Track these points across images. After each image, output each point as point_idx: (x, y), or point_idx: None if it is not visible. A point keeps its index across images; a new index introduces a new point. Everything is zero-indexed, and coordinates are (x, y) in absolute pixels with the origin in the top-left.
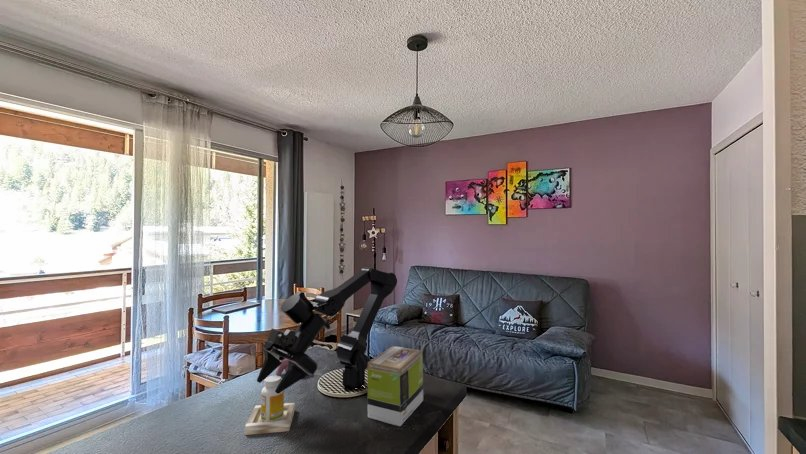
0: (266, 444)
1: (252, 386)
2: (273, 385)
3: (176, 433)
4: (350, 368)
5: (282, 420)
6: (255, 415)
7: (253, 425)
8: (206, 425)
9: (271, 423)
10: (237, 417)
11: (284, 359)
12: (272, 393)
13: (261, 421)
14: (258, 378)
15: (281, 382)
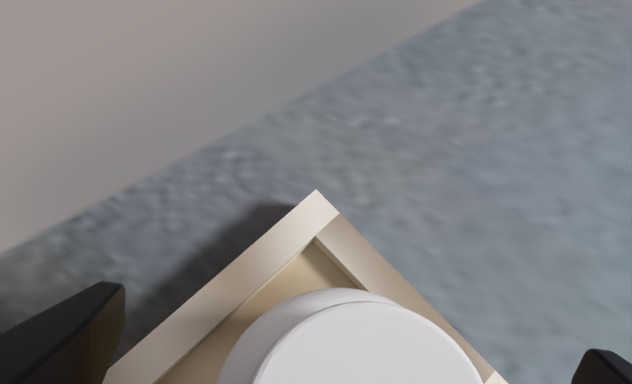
0: (123, 218)
1: None
2: (259, 362)
3: (586, 54)
4: None
5: (154, 381)
6: None
7: (280, 223)
8: (563, 155)
9: (194, 305)
10: (529, 294)
11: None
12: (241, 337)
13: None
14: (612, 364)
15: (4, 341)
